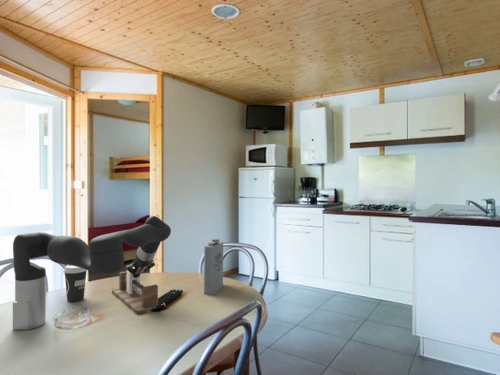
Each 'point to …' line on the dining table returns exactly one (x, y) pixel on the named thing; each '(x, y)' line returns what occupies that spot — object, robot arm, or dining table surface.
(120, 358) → the dining table surface
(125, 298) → the cord stand
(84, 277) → the coffee cup
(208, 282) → the flask
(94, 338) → the dining table surface
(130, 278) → the white slider block
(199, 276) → the dining table surface
